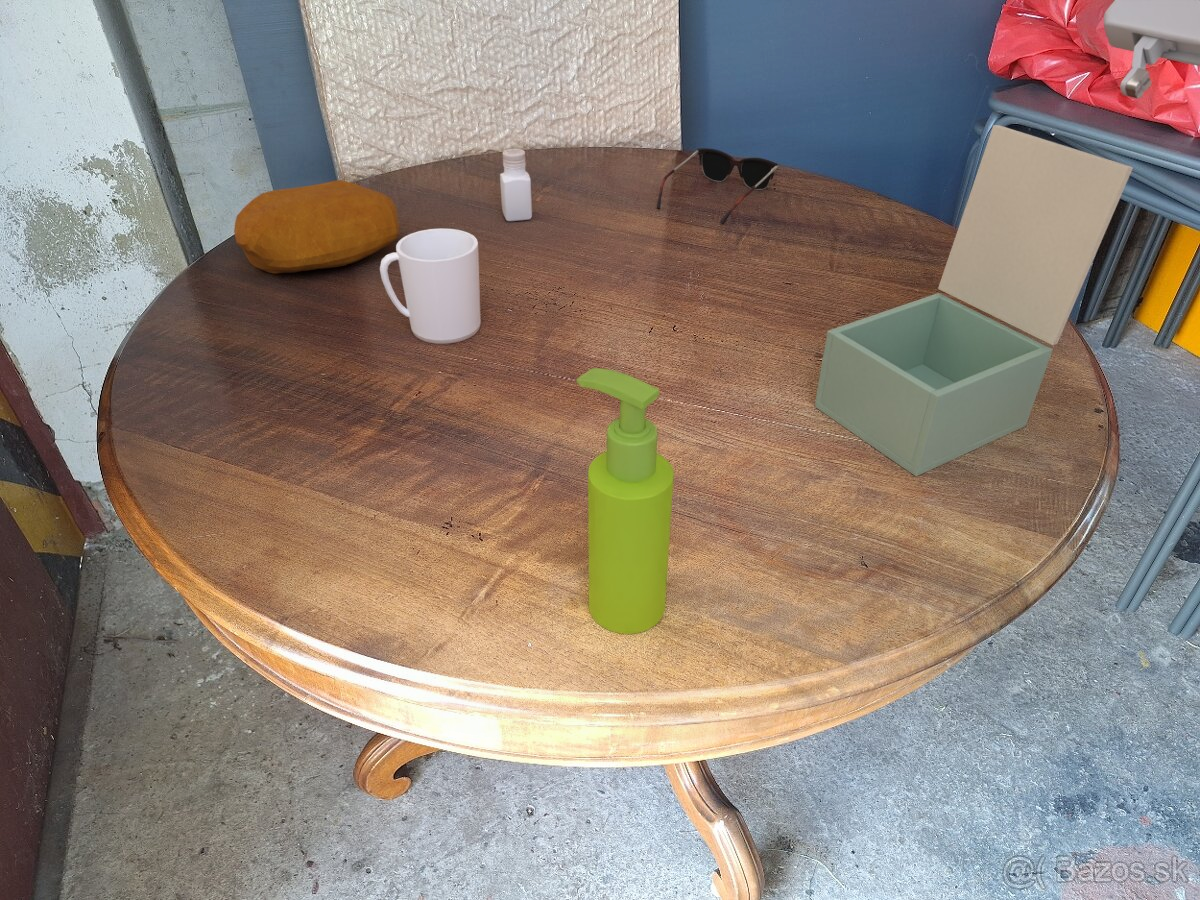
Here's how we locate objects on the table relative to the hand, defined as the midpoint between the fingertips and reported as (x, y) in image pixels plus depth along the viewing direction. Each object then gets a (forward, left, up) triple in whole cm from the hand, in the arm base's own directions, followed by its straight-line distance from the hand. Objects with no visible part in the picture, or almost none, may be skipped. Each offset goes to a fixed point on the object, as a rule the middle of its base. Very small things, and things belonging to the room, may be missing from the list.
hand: (1170, 103), depth 76 cm
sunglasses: (+49, -40, -30) cm, 69 cm away
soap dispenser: (+33, +44, -30) cm, 63 cm away
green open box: (+14, +9, -29) cm, 34 cm away
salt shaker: (+74, -23, -30) cm, 82 cm away
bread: (+91, 0, -30) cm, 95 cm away
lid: (+9, +3, -12) cm, 15 cm away
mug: (+68, +11, -30) cm, 75 cm away
